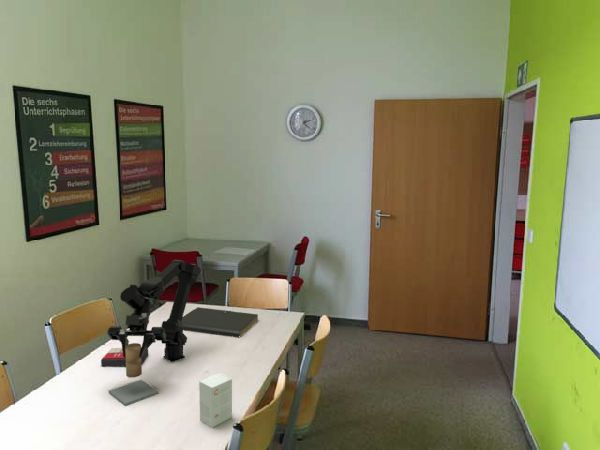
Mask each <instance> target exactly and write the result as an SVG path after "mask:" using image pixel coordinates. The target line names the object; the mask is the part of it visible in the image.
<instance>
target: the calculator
mask: <svg viewBox="0 0 600 450" xmlns="http://www.w3.org/2000/svg"><path fill="white" fill-rule="evenodd" d="M148 357H149V348H148V349H147V350H146V352H145V353H144V355H143V356H142V357H141V362H142V366H143V364H144V363H145V362H146V361H147V359H148ZM100 365H101V368H102V367H104V368H110V367H111V368H116V367H117V368H123V367H125V368H126V357H125V358H124V357H123V351H122V347H111V348H110V349H109V350H108V351H107V353H105V355H104V356H103V357H102V358H101V360H100Z"/></svg>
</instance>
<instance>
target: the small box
mask: <svg viewBox="0 0 600 450" xmlns="http://www.w3.org/2000/svg"><path fill="white" fill-rule="evenodd" d="M198 382H199V384H198V385H199V387H198V389H199V391H198V392H199V420H200V421H201V422H202V423H203V424H205V425H207V426H208V427H211V428H212V429H213V428H215V427H216V426H218V425H221V424H222V423H224V422H226V421H227V420H229V419H232V418H233V378H231V377H230V376H227V375H225V374H223V373H221V372H218V373H215V374H213V375H211V376H209V377H206V378H204V379H202V380H200V381H199V380H198Z"/></svg>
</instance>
